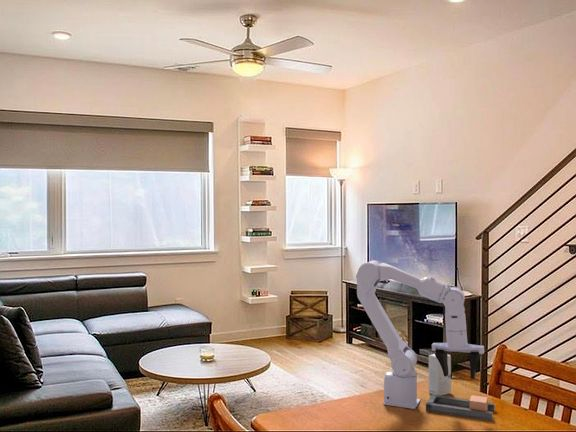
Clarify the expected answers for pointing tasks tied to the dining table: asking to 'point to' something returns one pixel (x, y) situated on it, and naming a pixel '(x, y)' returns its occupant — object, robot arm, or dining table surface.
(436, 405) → the grey tray
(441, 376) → the skincare box
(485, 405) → the block
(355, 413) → the dining table surface
